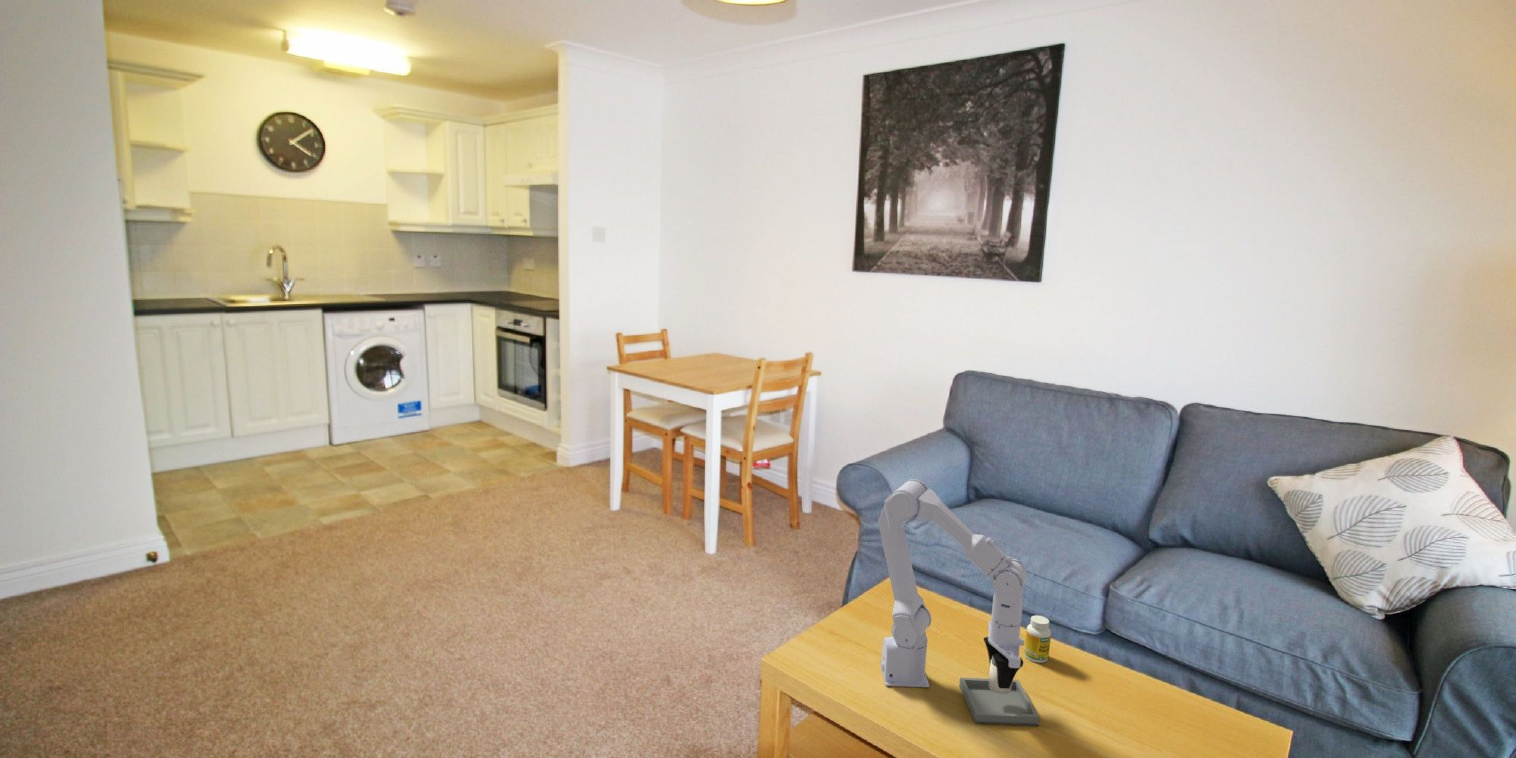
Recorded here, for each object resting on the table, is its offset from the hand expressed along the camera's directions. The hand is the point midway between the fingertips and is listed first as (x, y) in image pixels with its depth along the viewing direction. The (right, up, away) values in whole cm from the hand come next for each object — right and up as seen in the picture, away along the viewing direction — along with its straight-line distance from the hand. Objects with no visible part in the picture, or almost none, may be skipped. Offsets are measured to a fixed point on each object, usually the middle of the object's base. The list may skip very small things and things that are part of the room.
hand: (999, 680), depth 150 cm
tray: (0, -6, +1) cm, 6 cm away
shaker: (0, -2, 0) cm, 2 cm away
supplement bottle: (+15, -3, +20) cm, 25 cm away
